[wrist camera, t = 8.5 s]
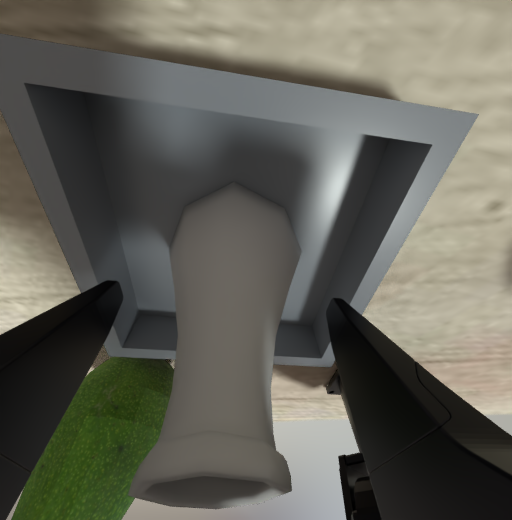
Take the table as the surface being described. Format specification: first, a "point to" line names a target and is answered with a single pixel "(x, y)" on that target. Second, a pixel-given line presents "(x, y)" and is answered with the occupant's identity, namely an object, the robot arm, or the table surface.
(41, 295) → the table surface
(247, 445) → the flask
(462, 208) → the table surface
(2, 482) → the robot arm
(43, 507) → the avocado
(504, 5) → the table surface
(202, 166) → the serving bin
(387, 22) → the table surface
